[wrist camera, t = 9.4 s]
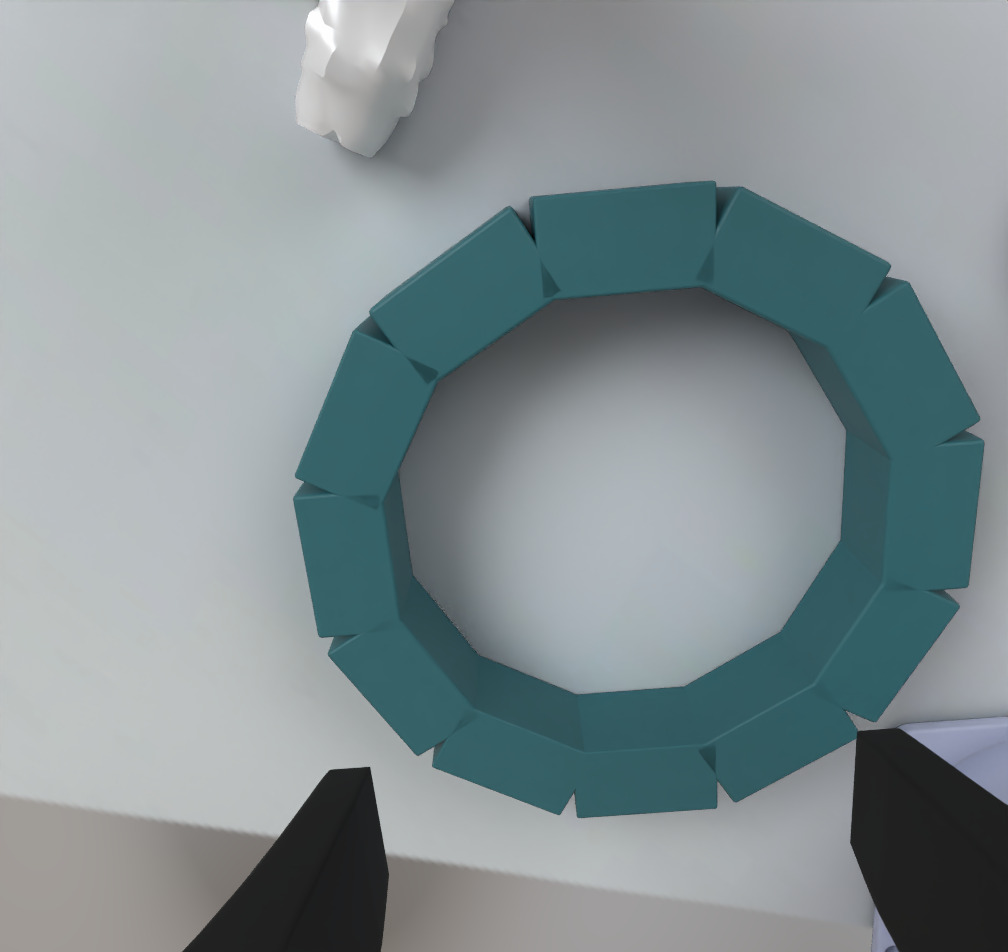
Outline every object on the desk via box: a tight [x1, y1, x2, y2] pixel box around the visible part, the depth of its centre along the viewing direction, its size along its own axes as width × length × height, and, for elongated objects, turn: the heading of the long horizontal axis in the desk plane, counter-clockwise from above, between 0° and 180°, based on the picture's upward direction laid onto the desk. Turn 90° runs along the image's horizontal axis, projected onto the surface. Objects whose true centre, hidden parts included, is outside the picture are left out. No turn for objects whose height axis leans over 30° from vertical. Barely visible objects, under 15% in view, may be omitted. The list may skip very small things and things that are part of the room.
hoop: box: [293, 181, 984, 818], centre depth 19 cm, size 15×15×2 cm
